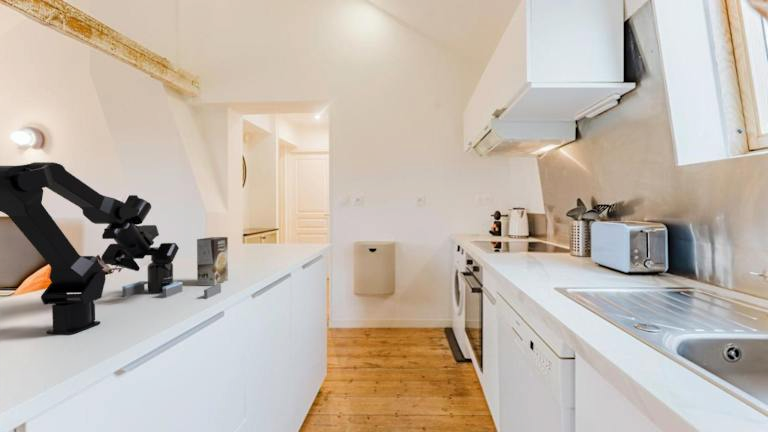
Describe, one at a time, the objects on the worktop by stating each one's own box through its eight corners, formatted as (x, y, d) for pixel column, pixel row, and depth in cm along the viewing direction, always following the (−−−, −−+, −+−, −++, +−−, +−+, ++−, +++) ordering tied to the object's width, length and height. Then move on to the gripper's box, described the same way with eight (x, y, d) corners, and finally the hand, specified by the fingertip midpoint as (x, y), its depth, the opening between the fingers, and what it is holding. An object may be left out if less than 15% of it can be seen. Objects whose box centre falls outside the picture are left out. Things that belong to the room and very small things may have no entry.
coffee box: (215, 285, 112) (214, 239, 112) (196, 285, 112) (195, 239, 112) (228, 279, 121) (228, 236, 121) (212, 279, 122) (211, 236, 121)
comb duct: (207, 298, 97) (207, 288, 97) (122, 296, 99) (122, 286, 99) (221, 292, 104) (220, 282, 104) (141, 290, 106) (141, 281, 106)
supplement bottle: (171, 292, 103) (170, 255, 103) (145, 295, 101) (144, 256, 100) (175, 287, 110) (174, 252, 109) (151, 289, 107) (150, 253, 107)
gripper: (174, 216, 97) (194, 248, 108) (108, 216, 95) (134, 249, 106) (158, 245, 89) (181, 277, 100) (86, 246, 87) (117, 278, 99)
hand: (154, 269), depth 101 cm, fingers open, 9 cm apart
